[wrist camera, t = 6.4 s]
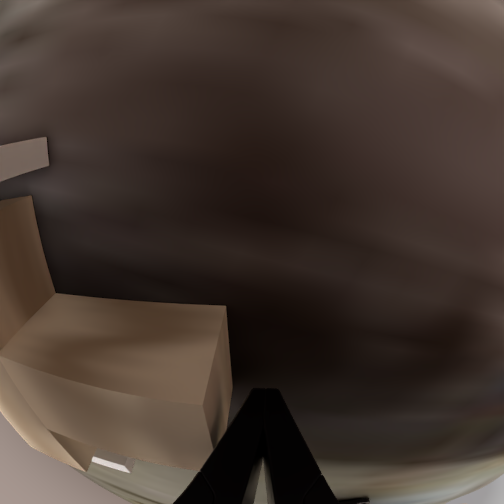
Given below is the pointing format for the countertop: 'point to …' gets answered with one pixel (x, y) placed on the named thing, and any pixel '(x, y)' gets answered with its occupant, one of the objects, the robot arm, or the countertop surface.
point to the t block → (105, 364)
